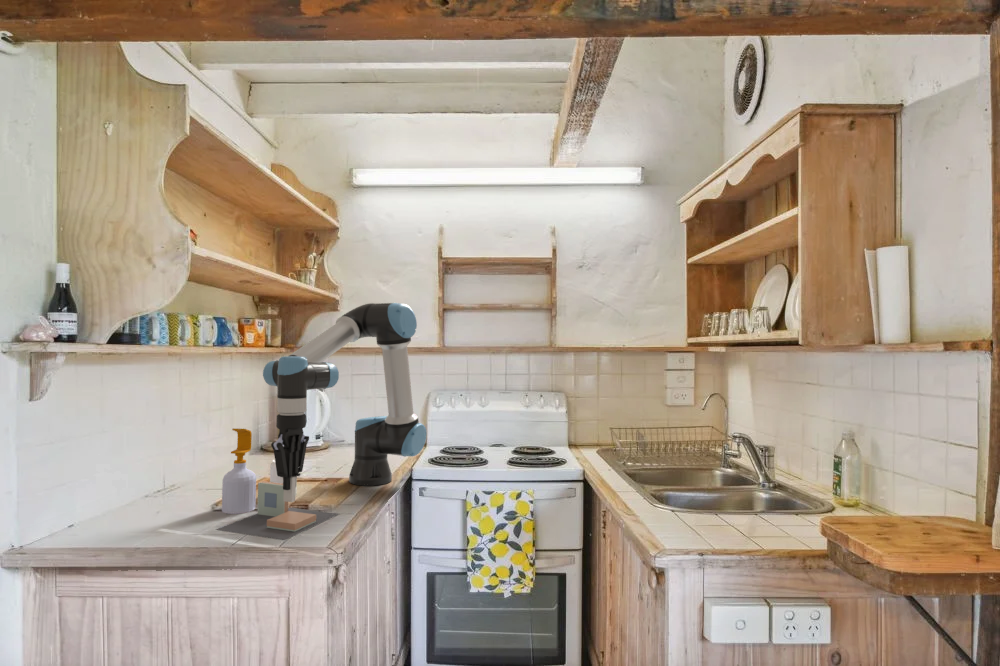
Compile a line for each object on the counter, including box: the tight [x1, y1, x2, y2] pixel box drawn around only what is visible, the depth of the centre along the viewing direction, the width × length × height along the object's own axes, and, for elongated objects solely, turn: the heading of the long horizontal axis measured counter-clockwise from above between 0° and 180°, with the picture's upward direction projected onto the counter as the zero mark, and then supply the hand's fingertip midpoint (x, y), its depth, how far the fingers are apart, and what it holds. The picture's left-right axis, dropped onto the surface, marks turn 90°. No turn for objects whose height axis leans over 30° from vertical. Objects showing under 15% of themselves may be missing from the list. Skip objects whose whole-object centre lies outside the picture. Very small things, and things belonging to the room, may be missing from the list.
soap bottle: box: [221, 428, 257, 515], centre depth 173 cm, size 9×9×25 cm
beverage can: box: [269, 458, 298, 497], centre depth 188 cm, size 8×8×12 cm
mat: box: [215, 507, 340, 541], centre depth 162 cm, size 24×22×1 cm
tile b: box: [256, 480, 289, 517], centre depth 167 cm, size 2×9×9 cm, turn 72°
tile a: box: [267, 511, 316, 532], centre depth 159 cm, size 2×9×9 cm
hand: (289, 500), depth 158 cm, fingers closed
